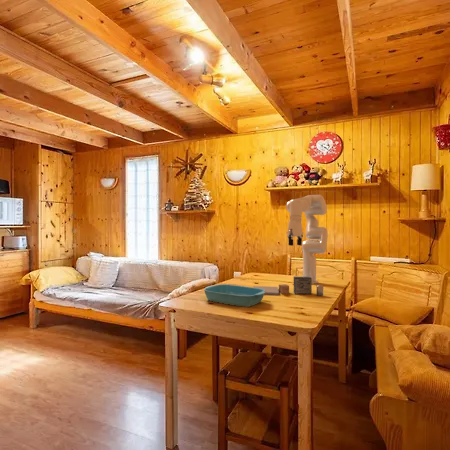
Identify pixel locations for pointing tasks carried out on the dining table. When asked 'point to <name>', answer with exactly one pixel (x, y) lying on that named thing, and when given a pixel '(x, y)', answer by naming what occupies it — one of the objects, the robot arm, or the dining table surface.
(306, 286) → the small box
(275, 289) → the tile board
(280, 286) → the walnut block
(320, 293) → the metal cylinder
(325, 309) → the dining table surface
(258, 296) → the casserole dish
